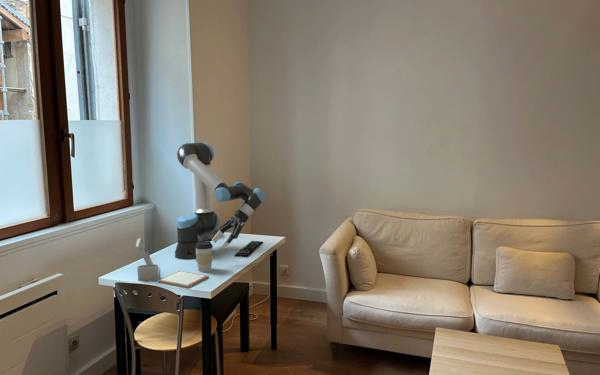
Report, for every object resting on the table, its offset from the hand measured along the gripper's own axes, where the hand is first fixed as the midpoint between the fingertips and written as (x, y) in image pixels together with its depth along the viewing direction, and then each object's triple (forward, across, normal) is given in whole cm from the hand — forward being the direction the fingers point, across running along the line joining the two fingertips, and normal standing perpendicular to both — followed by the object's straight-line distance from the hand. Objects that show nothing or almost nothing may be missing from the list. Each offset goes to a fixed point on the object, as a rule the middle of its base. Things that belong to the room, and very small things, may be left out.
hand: (218, 244), depth 236 cm
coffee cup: (+15, +1, -4) cm, 15 cm away
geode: (-1, +62, -21) cm, 66 cm away
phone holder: (+33, +9, +15) cm, 38 cm away
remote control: (-10, +25, -30) cm, 41 cm away
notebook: (+24, -8, +6) cm, 26 cm away
